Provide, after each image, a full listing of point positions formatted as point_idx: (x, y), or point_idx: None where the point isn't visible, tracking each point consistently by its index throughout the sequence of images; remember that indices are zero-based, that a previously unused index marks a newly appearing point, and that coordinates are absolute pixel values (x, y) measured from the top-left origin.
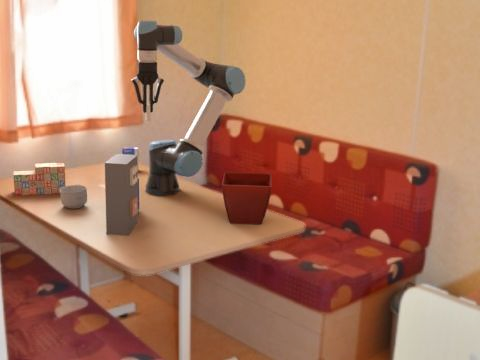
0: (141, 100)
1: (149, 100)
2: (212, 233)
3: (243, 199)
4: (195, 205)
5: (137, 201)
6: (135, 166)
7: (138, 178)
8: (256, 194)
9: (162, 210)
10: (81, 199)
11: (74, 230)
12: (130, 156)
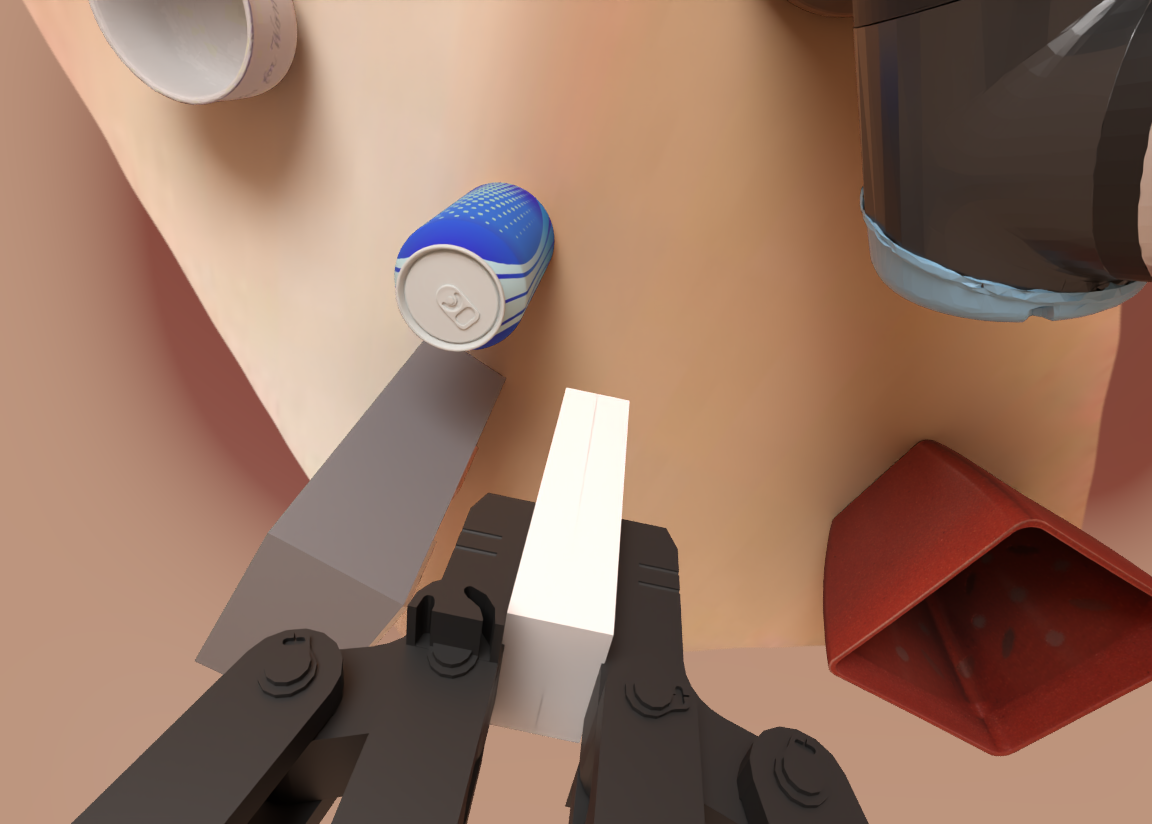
0: (309, 819)
1: (603, 765)
2: (712, 563)
3: (886, 645)
4: (859, 273)
5: (465, 476)
6: (393, 617)
7: (520, 310)
8: (935, 694)
9: (666, 276)
10: (251, 94)
11: (257, 354)
12: (353, 613)
